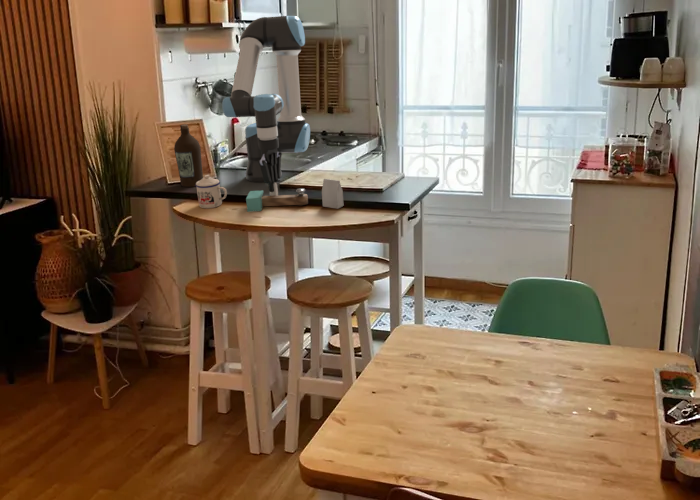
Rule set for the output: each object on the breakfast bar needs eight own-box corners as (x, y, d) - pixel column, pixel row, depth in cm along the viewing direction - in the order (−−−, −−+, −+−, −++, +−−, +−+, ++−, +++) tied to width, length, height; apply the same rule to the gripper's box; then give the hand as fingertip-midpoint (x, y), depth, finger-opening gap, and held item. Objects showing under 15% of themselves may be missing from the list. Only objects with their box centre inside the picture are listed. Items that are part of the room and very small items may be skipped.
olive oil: (186, 180, 322) (178, 122, 312) (209, 180, 319) (201, 122, 310) (175, 187, 312) (166, 127, 303) (198, 187, 309) (190, 127, 300)
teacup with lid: (194, 208, 283) (190, 178, 279) (205, 201, 291) (201, 171, 287) (223, 209, 280) (219, 179, 275) (233, 202, 288) (229, 172, 283)
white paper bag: (338, 208, 272) (336, 182, 269) (322, 206, 276) (320, 180, 272) (343, 205, 275) (341, 179, 271) (328, 203, 279) (326, 177, 275)
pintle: (296, 193, 280) (296, 188, 279) (305, 193, 280) (305, 188, 279) (295, 196, 277) (295, 191, 276) (305, 196, 277) (304, 190, 276)
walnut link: (308, 201, 282) (308, 193, 281) (307, 205, 277) (306, 197, 276) (252, 203, 283) (251, 195, 282) (250, 207, 279) (249, 199, 278)
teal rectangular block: (251, 203, 284) (250, 191, 282) (264, 203, 284) (263, 190, 282) (247, 211, 275) (245, 198, 273) (260, 211, 275) (259, 198, 273)
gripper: (268, 133, 281) (275, 193, 289) (249, 141, 270) (256, 203, 279) (285, 134, 277) (291, 194, 286) (266, 142, 267) (273, 205, 276)
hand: (274, 199), depth 282 cm, fingers closed
